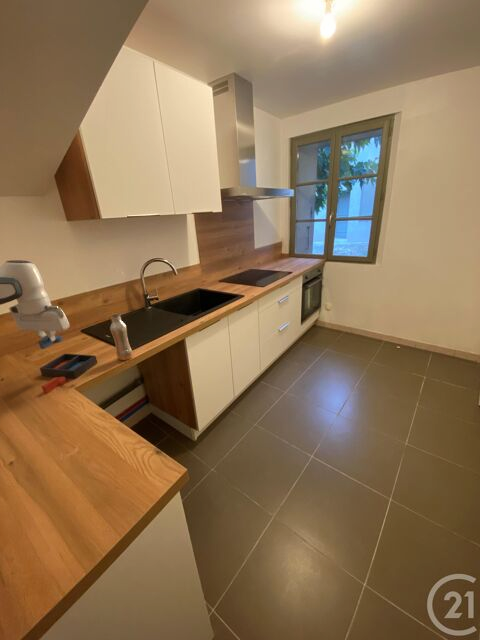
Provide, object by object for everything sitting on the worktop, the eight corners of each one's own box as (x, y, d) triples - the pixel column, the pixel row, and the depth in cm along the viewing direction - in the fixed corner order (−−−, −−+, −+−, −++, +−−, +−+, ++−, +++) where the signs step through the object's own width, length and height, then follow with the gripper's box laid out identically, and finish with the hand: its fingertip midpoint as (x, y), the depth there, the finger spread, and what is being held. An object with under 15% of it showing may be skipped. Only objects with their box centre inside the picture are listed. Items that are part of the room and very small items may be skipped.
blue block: (46, 349, 95) (43, 341, 94) (38, 348, 96) (35, 341, 95) (65, 339, 103) (62, 332, 102) (57, 338, 104) (54, 331, 102)
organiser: (42, 375, 105) (39, 368, 104) (67, 360, 116) (64, 353, 115) (75, 379, 102) (72, 371, 100) (97, 362, 113) (95, 355, 111)
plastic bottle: (122, 363, 111) (111, 319, 104) (115, 358, 115) (104, 316, 108) (136, 357, 115) (126, 315, 108) (129, 353, 120) (119, 312, 112)
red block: (50, 393, 93) (47, 386, 92) (41, 392, 94) (38, 385, 93) (68, 380, 101) (66, 373, 100) (60, 379, 102) (58, 373, 101)
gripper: (67, 303, 93) (78, 337, 99) (22, 302, 98) (35, 335, 103) (52, 309, 88) (65, 345, 93) (5, 308, 92) (19, 343, 97)
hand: (49, 340), depth 98 cm, fingers closed on blue block
